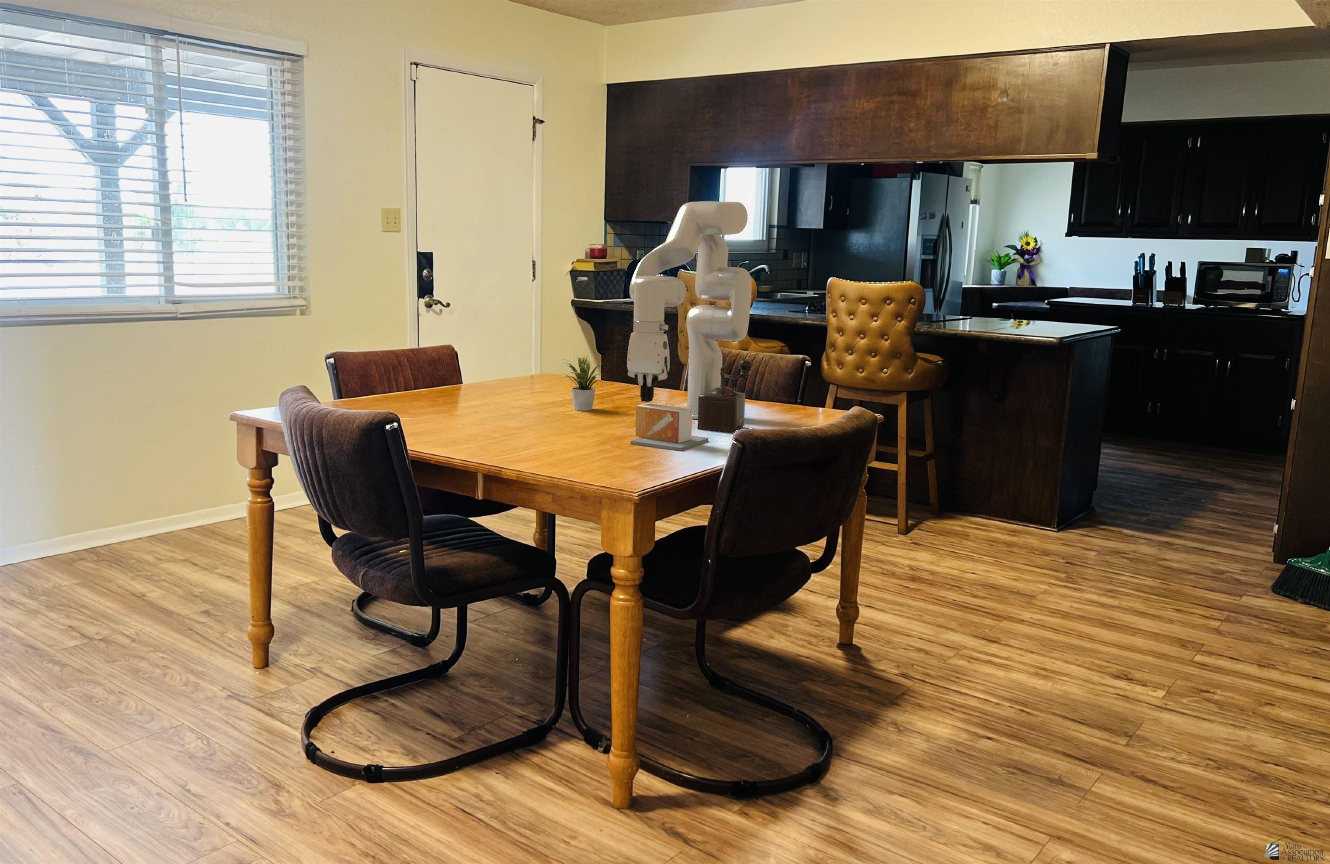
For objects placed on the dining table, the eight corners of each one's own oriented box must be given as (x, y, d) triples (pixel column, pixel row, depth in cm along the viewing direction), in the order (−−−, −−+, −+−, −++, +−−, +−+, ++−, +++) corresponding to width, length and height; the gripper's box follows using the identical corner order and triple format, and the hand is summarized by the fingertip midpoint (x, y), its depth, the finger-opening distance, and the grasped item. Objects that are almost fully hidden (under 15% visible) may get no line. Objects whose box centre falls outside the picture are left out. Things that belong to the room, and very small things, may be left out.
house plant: (549, 406, 303) (549, 351, 300) (593, 403, 309) (594, 350, 306) (565, 414, 290) (566, 356, 287) (610, 411, 296) (611, 355, 293)
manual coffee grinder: (735, 433, 269) (738, 365, 265) (696, 429, 273) (698, 362, 269) (752, 424, 283) (755, 359, 280) (714, 420, 287) (717, 356, 284)
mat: (659, 434, 264) (659, 431, 264) (708, 441, 258) (708, 437, 258) (630, 444, 251) (630, 440, 251) (680, 451, 245) (680, 447, 245)
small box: (635, 405, 255) (679, 411, 248) (649, 402, 260) (693, 407, 253) (634, 437, 256) (678, 443, 249) (648, 433, 262) (692, 439, 255)
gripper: (682, 329, 254) (680, 402, 257) (629, 325, 260) (628, 396, 264) (668, 331, 247) (666, 406, 250) (614, 327, 254) (613, 400, 257)
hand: (646, 401), depth 257 cm, fingers closed
